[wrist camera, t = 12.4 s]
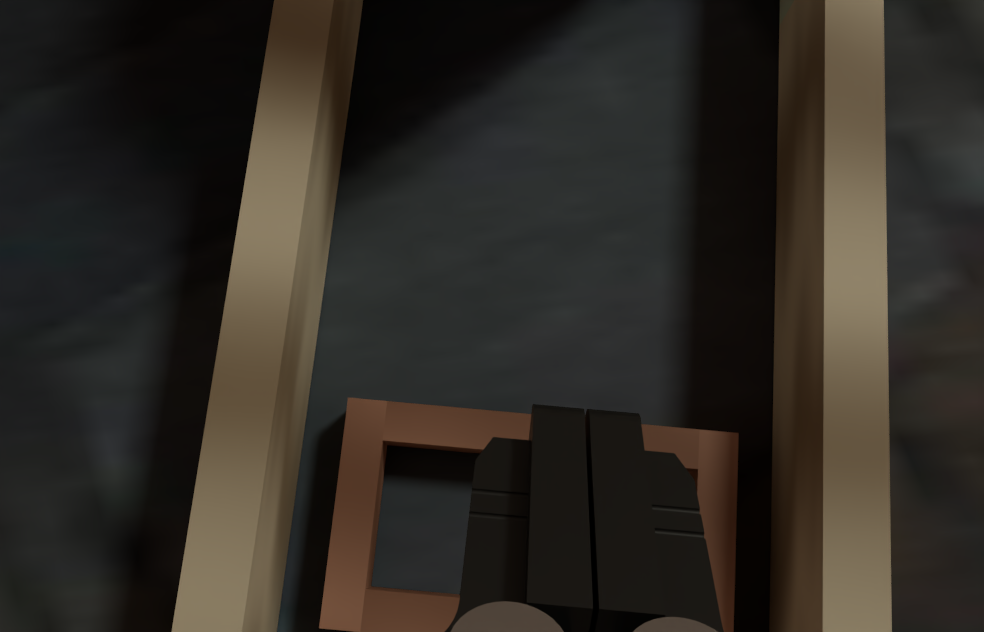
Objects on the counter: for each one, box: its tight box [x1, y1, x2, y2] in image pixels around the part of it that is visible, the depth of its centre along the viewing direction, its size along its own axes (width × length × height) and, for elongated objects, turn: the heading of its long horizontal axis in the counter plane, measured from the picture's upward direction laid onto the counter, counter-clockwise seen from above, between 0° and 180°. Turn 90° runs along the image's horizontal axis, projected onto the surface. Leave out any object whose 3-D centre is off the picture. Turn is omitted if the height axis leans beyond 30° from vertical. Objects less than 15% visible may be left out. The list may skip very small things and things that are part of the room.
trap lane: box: [171, 0, 892, 632], centre depth 19 cm, size 32×12×3 cm, turn 175°
